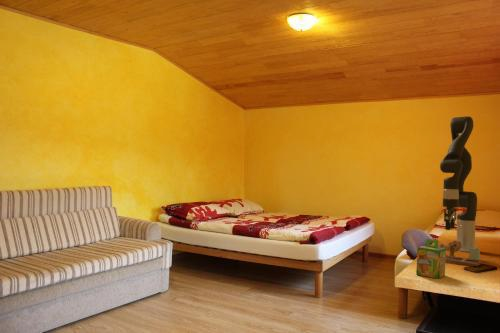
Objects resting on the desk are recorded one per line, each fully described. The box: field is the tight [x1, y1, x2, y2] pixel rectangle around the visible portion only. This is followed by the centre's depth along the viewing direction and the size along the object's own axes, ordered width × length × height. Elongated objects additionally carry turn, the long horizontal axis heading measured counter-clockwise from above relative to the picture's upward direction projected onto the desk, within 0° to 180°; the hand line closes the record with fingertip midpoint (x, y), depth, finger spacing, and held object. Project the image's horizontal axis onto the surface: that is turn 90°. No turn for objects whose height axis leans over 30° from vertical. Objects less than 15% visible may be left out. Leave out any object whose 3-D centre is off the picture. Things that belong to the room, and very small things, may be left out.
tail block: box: [468, 247, 481, 260], centre depth 211 cm, size 4×4×6 cm
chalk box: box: [416, 238, 447, 280], centre depth 176 cm, size 9×9×15 cm
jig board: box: [445, 254, 483, 267], centre depth 206 cm, size 12×22×2 cm, turn 51°
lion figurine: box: [438, 239, 462, 256], centre depth 220 cm, size 15×5×9 cm, turn 34°
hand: (450, 229), depth 220 cm, fingers open, 8 cm apart
